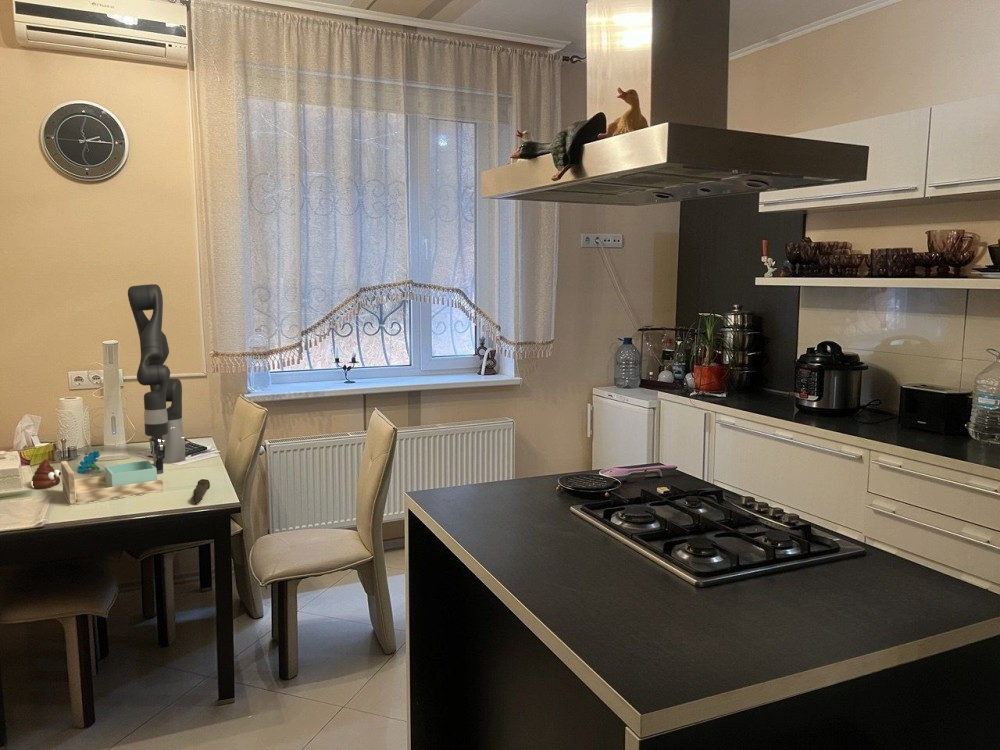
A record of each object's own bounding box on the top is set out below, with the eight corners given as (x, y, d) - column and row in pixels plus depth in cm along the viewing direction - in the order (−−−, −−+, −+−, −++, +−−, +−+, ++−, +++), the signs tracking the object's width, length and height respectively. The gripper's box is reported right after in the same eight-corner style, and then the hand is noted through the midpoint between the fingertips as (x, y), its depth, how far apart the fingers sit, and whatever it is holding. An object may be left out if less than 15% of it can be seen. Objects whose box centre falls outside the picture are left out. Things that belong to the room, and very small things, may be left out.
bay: (151, 479, 272) (149, 450, 271) (163, 491, 258) (161, 460, 256) (63, 492, 256) (60, 461, 254) (70, 506, 241) (68, 473, 240)
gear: (73, 465, 284) (93, 445, 287) (85, 474, 287) (105, 454, 290) (79, 476, 276) (100, 455, 278) (92, 484, 279) (112, 464, 282)
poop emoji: (43, 481, 269) (41, 456, 268) (66, 481, 269) (64, 456, 267) (25, 489, 259) (23, 463, 258) (49, 490, 259) (47, 463, 258)
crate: (159, 477, 272) (158, 449, 270) (168, 485, 261) (166, 457, 260) (105, 485, 261) (104, 456, 260) (112, 494, 251) (111, 464, 249)
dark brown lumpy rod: (198, 489, 262) (197, 477, 261) (210, 489, 263) (209, 476, 262) (187, 506, 244) (186, 493, 243) (200, 506, 244) (199, 492, 244)
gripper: (172, 423, 259) (174, 471, 261) (162, 416, 270) (165, 463, 273) (148, 425, 255) (151, 474, 257) (140, 419, 266) (142, 466, 268)
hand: (158, 468), depth 265 cm, fingers closed on crate, 3 cm apart
